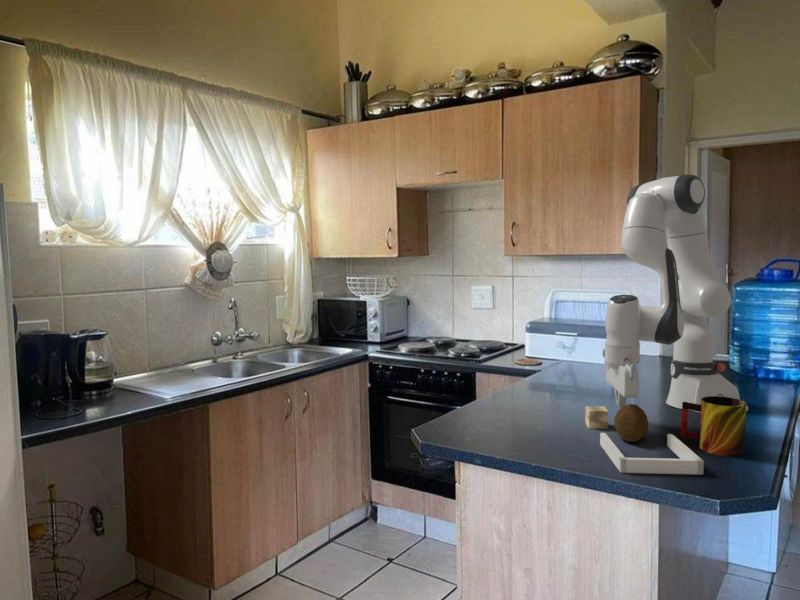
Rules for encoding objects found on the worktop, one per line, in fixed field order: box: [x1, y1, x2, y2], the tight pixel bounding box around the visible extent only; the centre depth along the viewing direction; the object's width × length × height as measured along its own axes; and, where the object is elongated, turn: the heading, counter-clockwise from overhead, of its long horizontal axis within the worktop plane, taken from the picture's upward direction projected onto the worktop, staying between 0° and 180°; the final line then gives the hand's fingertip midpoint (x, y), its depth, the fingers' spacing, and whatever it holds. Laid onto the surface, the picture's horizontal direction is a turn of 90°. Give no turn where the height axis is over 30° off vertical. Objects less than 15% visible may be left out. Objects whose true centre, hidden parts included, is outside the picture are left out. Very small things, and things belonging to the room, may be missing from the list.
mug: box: [680, 396, 747, 457], centre depth 149 cm, size 10×14×12 cm
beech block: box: [584, 405, 609, 430], centre depth 169 cm, size 5×5×5 cm
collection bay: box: [599, 432, 705, 476], centre depth 143 cm, size 17×19×3 cm
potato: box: [613, 403, 649, 443], centre depth 158 cm, size 8×12×9 cm
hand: (620, 406), depth 166 cm, fingers closed
